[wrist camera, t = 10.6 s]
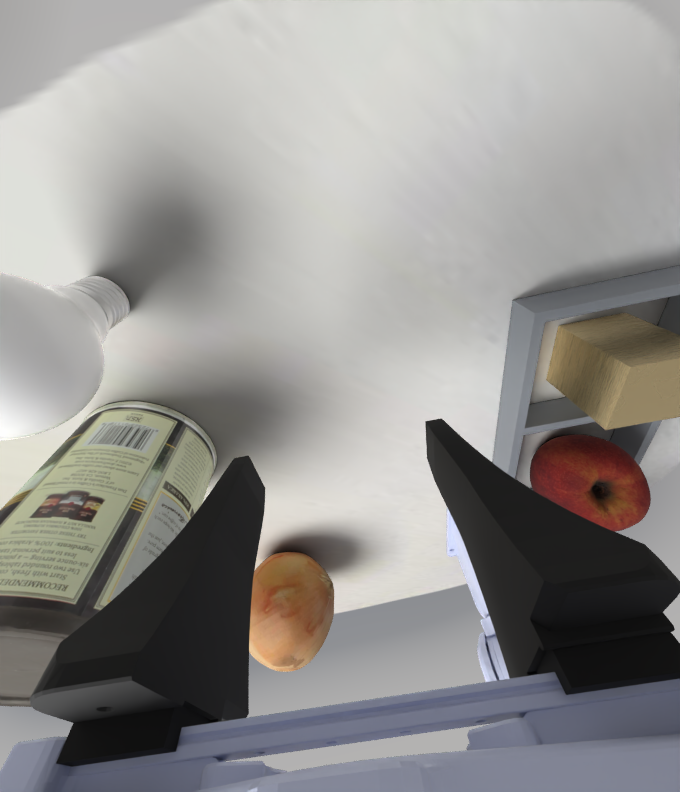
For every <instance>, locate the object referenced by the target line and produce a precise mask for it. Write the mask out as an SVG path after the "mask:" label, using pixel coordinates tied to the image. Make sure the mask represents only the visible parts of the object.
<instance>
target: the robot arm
mask: <svg viewBox="0 0 680 792" xmlns="http://www.w3.org/2000/svg"><path fill="white" fill-rule="evenodd" d="M426 443H427V459H428V462H429V465H430V468H431V471H432V474H433V477H434V480H435V482H436V484H437V486H438V488H439V491H440V493H441V495H442V497H443V499H444V501H445V503H446V505H447V507H448V508H447V555H448V556H450V557H452V556H457V558H458V560H459V563H460V565H461V568H462V571H463V573H464V576H465V578H466V581H467V584H468V586H469V589H470V591H471V594H472V597H473V599H474V602H475V604H476V607H477V609H478V611H479V612H480V614H481V615H482V616H483V617H484V619H481V620H480V621H481V624H482V626H483V629H484V632H482V633H481V634H480V635H479V642H478V646H477V650H478V657H479V662H480V665H481V669H482V672H483V675H484V678H485V681H486V682H484V683H477V684H471V685H464V686H457V687H451V688H444V689H437V690H430V691H423V692H417V693H411V694H403V695H397V696H390V697H384V698H376V699H370V700H363V701H356V702H350V703H343V704H336V705H329V706H323V707H316V708H309V709H302V710H296V711H290V712H283V713H276V714H269V715H262V716H256V717H249V718H246V717H247V715H248V713H249V711H248V710H249V709H248V676H249V672H248V671H249V670H248V669H249V668H248V667H249V634H250V616H251V600H252V586H253V576H254V568H255V562H256V557H257V551H258V545H259V540H260V534H261V528H262V522H263V516H264V505H265V487H264V485H263V483H262V481H261V479H260V477H259V475H258V473H257V471H256V469H255V467H254V465H253V463H252V461H251V459H250V457H249V456H244V457H239V458H234V459H233V461H232V462H231V463H230V465H229V466H228V468H227V469H226V471H225V472H224V474H223V475H222V476H221V478H220V479H219V481H218V482H217V484H216V485H215V487H214V488H213V490H212V491H211V492H210V494H209V495H208V497H207V498H206V499H205V501H204V502H203V504H202V505H201V506H200V507H199V509H198V510H197V511H196V513H195V514H194V515H193V516H192V518H191V519H190V520H189V522H188V523H187V524H186V525H185V527H184V528H183V529H182V530H181V532H180V533H179V534H178V535H177V536H176V537H175V539H174V540H173V541H172V542H171V543H170V544H169V545H168V546H167V547H166V549H165V550H164V551H163V552H162V553H161V554H160V555H159V556H158V557H157V558H156V559H155V560H154V561H153V562H152V563H151V564H150V565H149V566H148V567H147V568H146V569H145V570H144V571H143V572H142V573H141V574H140V575H139V576H138V577H137V578H136V579H135V580H134V581H133V582H132V583H131V584H130V585H129V586H127V587H126V588H125V589H124V590H123V591H122V592H121V593H120V594H119V595H117V596H116V597H115V598H114V599H113V600H112V601H111V602H110V603H108V604H107V605H106V606H105V607H104V608H103V609H101V610H100V611H99V612H98V613H97V614H95V615H94V616H93V617H92V618H90V619H89V620H88V621H87V622H86V623H84V624H83V625H82V626H81V627H79V628H78V629H77V630H76V631H74V632H73V633H72V634H71V635H69V636H68V637H67V638H66V639H64V640H63V641H62V642H61V643H60V644H59V646H58V648H57V650H56V651H55V653H54V655H53V657H52V659H51V660H50V662H49V664H48V666H47V668H46V669H45V671H44V673H43V675H42V677H41V679H40V680H39V682H38V684H37V686H36V688H35V689H34V691H33V693H32V695H31V697H30V704H31V707H33V708H34V709H35V710H37V711H39V712H42V713H45V714H48V715H51V716H54V717H57V718H60V719H63V720H67V721H70V722H73V723H74V724H73V726H72V728H71V730H70V733H69V735H68V737H50V738H43V739H37V740H30V741H23V742H18V743H17V744H16V745H14V747H13V748H12V751H11V752H10V754H9V756H8V758H7V760H6V762H5V764H4V765H3V767H2V769H1V771H0V792H680V643H679V642H678V641H677V640H676V638H675V637H674V636H673V634H672V633H671V632H672V631H674V626H673V625H672V623H671V622H670V621H669V619H668V618H667V617H666V616H665V615H664V613H663V611H664V610H665V609H666V608H667V607H668V606H669V605H670V604H671V603H672V602H673V600H674V599H675V598H676V597H677V596H678V594H679V593H680V581H679V580H678V579H677V578H676V576H675V575H674V574H673V573H672V572H671V571H670V570H669V569H668V568H667V566H665V564H664V563H663V562H662V561H661V560H660V559H659V558H658V557H657V556H656V555H655V554H654V553H653V552H652V551H651V550H650V549H649V548H648V547H647V546H646V545H645V544H642V543H640V542H638V541H635V540H633V539H630V538H628V537H626V536H623V535H621V534H618V533H616V532H614V531H612V530H609V529H607V528H604V527H602V526H600V525H598V524H596V523H594V522H592V521H589V520H587V519H585V518H583V517H581V516H579V515H577V514H575V513H573V512H571V511H569V510H567V509H565V508H563V507H562V506H560V505H558V504H556V503H554V502H552V501H551V500H549V499H547V498H545V497H543V496H541V495H540V494H538V493H536V492H535V491H533V490H532V489H530V488H528V487H527V486H525V485H524V484H522V483H520V482H519V481H517V480H516V479H514V478H513V477H511V476H510V475H508V474H507V473H506V472H504V471H503V470H501V469H500V468H499V467H497V466H496V465H495V464H493V463H492V462H491V461H489V460H488V459H487V458H486V457H484V456H483V455H482V454H481V453H479V452H478V451H477V450H476V449H475V448H473V447H472V446H471V445H470V444H469V443H468V442H466V441H465V440H464V439H463V438H462V437H461V436H460V435H459V434H458V433H456V432H455V431H454V430H453V429H452V428H451V427H450V426H449V425H448V424H447V423H446V422H445V421H444V420H442V419H436V420H431V421H426ZM490 723H493V724H490ZM482 724H490V725H486V726H483V727H479V728H476V729H472V730H469V732H468V739H469V742H470V744H468V746H467V751H455V752H443V753H431V754H418V755H407V756H396V757H387V758H378V759H369V760H360V761H354V762H346V763H339V764H332V765H326V766H320V767H314V768H307V769H301V770H296V771H291V772H287V771H285V770H279V769H273V768H271V767H268V766H265V764H264V763H263V762H262V761H240V762H225V761H230V760H237V759H243V758H251V757H258V756H264V755H272V754H278V753H285V752H293V751H300V750H307V749H314V748H321V747H328V746H335V745H342V744H349V743H357V742H363V741H371V740H378V739H384V738H392V737H398V736H405V735H413V734H420V733H427V732H433V731H441V730H448V729H454V728H461V727H469V726H476V725H482Z"/></svg>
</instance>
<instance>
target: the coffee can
mask: <svg viewBox="0 0 680 792" xmlns="http://www.w3.org/2000/svg"><path fill="white" fill-rule="evenodd" d="M216 462H217V455H216V450H215V447H214V445H213V443H212V441H211V439H210V437H209V436H208V435H207V434H206V433H205V432H204V431H203V429H202V428H201V427H200V426H198V425H197V424H196V423H195V422H194V421H193V420H191V419H189V418H188V417H186V416H185V415H183V414H181V413H179V412H177V411H175V410H173V409H170V408H168V407H164V406H160V405H156V404H152V403H146V402H137V401H128V402H118V403H112V404H108V405H105V406H103V407H101V408H98V409H96V410H95V411H93V412H92V413H91V414H90V415H88V416H87V417H86V419H85V420H84V421H83V423H82V424H81V425H80V427H79V428H78V429H77V430H76V431H75V432H74V433H73V434H72V435H71V436H70V437H69V438H68V439H67V440H66V441H65V442H64V443H63V444H62V446H61V447H60V448H59V449H58V450H57V451H56V452H55V453H54V454H53V455H52V456H51V457H50V458H49V459H48V460H47V462H46V463H45V464H44V465H43V466H42V467H41V468H40V469H39V470H38V471H37V472H36V473H35V474H34V475H33V476H32V477H31V478H30V479H29V480H28V482H27V483H26V484H25V485H24V486H23V487H22V488H21V489H20V490H19V491H18V492H17V493H16V494H15V495H14V496H13V497H12V498H11V499H10V500H9V502H8V503H7V504H6V505H5V506H4V507H3V508H2V509H1V510H0V706H26V707H31V704H30V697H31V695H32V693H33V691H34V689H35V688H36V686H37V684H38V682H39V680H40V679H41V677H42V675H43V673H44V671H45V669H46V668H47V666H48V664H49V662H50V660H51V659H52V657H53V655H54V653H55V651H56V650H57V648H58V646H59V644H60V643H61V642H62V641H63V640H64V639H66V638H67V637H68V636H69V635H71V634H72V633H73V632H74V631H76V630H77V629H78V628H79V627H81V626H82V625H83V624H84V623H86V622H87V621H88V620H89V619H90V618H92V617H93V616H94V615H95V614H97V613H98V612H99V611H100V610H101V609H103V608H104V607H105V606H106V605H107V604H108V603H110V602H111V601H112V600H113V599H114V598H115V597H116V596H117V595H119V594H120V593H121V592H122V591H123V590H124V589H125V588H126V587H127V586H129V585H130V584H131V583H132V582H133V581H134V580H135V579H136V578H137V577H138V576H139V575H140V574H141V573H142V572H143V571H144V570H145V569H146V568H147V567H148V566H149V565H150V564H151V563H152V562H153V561H154V560H155V559H156V558H157V557H158V556H159V555H160V554H161V553H162V552H163V551H164V550H165V549H166V547H167V546H168V545H169V544H170V543H171V542H172V541H173V540H174V539H175V537H176V536H177V535H178V534H179V533H180V532H181V530H182V529H183V528H184V527H185V525H186V524H187V523H188V522H189V520H190V519H191V518H192V516H193V515H194V514H195V513H196V511H197V510H198V509H199V507H200V506H201V505H202V502H203V499H204V496H205V493H206V490H207V487H208V484H209V481H210V478H211V476H212V474H213V472H214V470H215V467H216Z"/></svg>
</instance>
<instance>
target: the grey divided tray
mask: <svg viewBox="0 0 680 792" xmlns="http://www.w3.org/2000/svg"><path fill="white" fill-rule="evenodd" d="M666 297H669V299H668V302H667V304H666V307H665V309H664V312H663V314H662V316H661V319H660V321H659V324H658V327H661V328H663V329H666V330H668V331H671V332H673V333H675V334H678V335H680V265H679V266H674V267H670V268H665V269H660V270H655V271H650V272H646V273H641V274H636V275H631V276H626V277H622V278H617V279H612V280H607V281H603V282H598V283H593V284H588V285H583V286H579V287H574V288H569V289H564V290H560V291H555V292H550V293H545V294H540V295H536V296H531V297H526V298H521V299H516V300H513V302H512V310H511V318H510V326H509V334H508V342H507V350H506V358H505V366H504V374H503V382H502V390H501V398H500V406H499V414H498V422H497V430H496V438H495V446H494V454H493V462H492V463H493V464H495V465H496V466H497V467H499V468H500V469H501V470H503V471H504V472H506V473H507V474H508V475H510V476H511V477H513V478H514V479H515V476H516V471H517V466H518V460H519V455H520V450H521V445H522V440H523V435H528V434H533V433H539V432H544V431H549V430H555V429H560V428H565V427H571V426H576V425H581V424H587V423H592V422H595V421H594V420H593V419H592V418H591V417H590V416H588V415H587V414H586V413H585V412H584V411H582V410H581V409H580V408H579V407H578V406H577V405H575V404H574V403H573V402H572V401H571V400H569V399H568V398H567V397H566V398H561V399H555V400H550V401H545V402H540V403H535V404H529V403H530V398H531V393H532V388H533V383H534V377H535V372H536V367H537V362H538V357H539V352H540V346H541V341H542V336H543V331H544V326H545V322H549V321H554V320H558V319H563V318H568V317H573V316H578V315H583V314H588V313H593V312H598V311H602V310H607V309H612V308H617V307H622V306H627V305H632V304H637V303H642V302H646V301H651V300H656V299H661V298H666ZM661 421H662V420H659V421H653V422H648V423H642V424H637V425H631V426H626V427H620V428H615V430H614V433H613V435H612V438H611V440H610V442H612V443H614V444H616V445H617V446H619V447H620V448H622V449H623V450H624V451H626V452H627V453H628V454H629V455H630V456H631V457H632V458H633V459H634V460H635V461H636V463H637V464H638V465H639V464H640V462H641V460H642V458H643V456H644V454H645V452H646V450H647V448H648V447H649V445H650V443H651V441H652V439H653V437H654V435H655V433H656V431H657V429H658V427H659V425H660V423H661ZM530 489H532V490H533V488H530ZM533 491H534V490H533Z"/></svg>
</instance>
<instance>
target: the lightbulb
mask: <svg viewBox="0 0 680 792" xmlns="http://www.w3.org/2000/svg"><path fill="white" fill-rule="evenodd" d="M129 309H130V306H129V301H128V298H127V296H126V295H125V293H124V292H123V290H122V289H121V288H120V287H119V286H118V285H116V284H115V283H114V282H112V281H110V280H108V279H106V278H103V277H99V276H89V277H86V278H84V279H81V280H79V281H76V282H74V283H71V284H69V285H66V286H61V285H47V286H44V285H41V284H39V283H37V282H34V281H31V280H28V279H25V278H22V277H19V276H15V275H12V274H7V273H3V272H0V441H2V440H12V439H18V438H24V437H28V436H32V435H36V434H39V433H42V432H45V431H48V430H50V429H52V428H55V427H57V426H59V425H61V424H63V423H65V422H66V421H68V420H69V419H71V418H72V417H74V416H75V415H77V414H78V413H79V412H80V411H81V410H82V409H83V408H84V407H85V406H86V405H87V404H88V403H89V402H90V401H91V399H92V398H93V397H94V395H95V394H96V392H97V390H98V388H99V386H100V383H101V381H102V377H103V373H104V351H103V346H102V343H103V342H104V340H105V338H106V336H107V333H108V330H110V329H111V328H112V327H114V326H115V325H117V324H118V323H119V322H121V321H122V320H124V319H125V318H126V317H127V315H128V313H129Z"/></svg>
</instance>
